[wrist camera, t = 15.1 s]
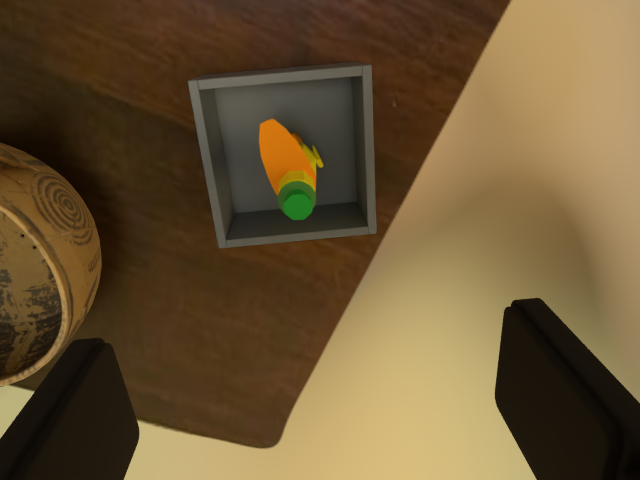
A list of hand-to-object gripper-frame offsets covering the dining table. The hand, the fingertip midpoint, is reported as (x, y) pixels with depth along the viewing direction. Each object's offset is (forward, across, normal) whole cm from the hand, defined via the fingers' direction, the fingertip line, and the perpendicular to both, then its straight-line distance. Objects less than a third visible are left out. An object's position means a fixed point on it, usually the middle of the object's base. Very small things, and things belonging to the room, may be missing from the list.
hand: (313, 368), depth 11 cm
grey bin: (+26, +1, 0) cm, 26 cm away
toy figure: (+26, +1, 0) cm, 26 cm away
